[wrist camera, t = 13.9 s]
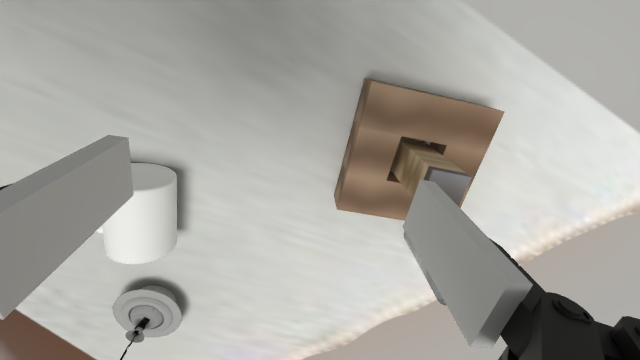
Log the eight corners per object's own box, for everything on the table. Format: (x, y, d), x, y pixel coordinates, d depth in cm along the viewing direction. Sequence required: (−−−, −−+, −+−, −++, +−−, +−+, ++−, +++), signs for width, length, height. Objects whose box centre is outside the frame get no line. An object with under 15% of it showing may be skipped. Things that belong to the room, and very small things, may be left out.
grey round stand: (89, 339, 33) (51, 383, 36) (168, 373, 36) (128, 412, 39) (143, 266, 45) (111, 304, 47) (200, 297, 48) (167, 331, 50)
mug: (186, 168, 39) (159, 195, 31) (185, 231, 43) (161, 268, 35) (88, 153, 37) (36, 178, 30) (96, 220, 41) (52, 256, 34)
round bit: (408, 220, 44) (444, 277, 33) (433, 224, 44) (476, 281, 33) (400, 242, 45) (431, 303, 34) (424, 245, 46) (462, 307, 35)
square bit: (395, 135, 38) (433, 170, 27) (424, 141, 39) (471, 177, 28) (386, 163, 40) (418, 206, 29) (413, 169, 40) (455, 213, 29)
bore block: (364, 78, 35) (371, 81, 32) (484, 105, 37) (504, 111, 34) (333, 195, 41) (337, 209, 38) (438, 213, 44) (450, 228, 40)
